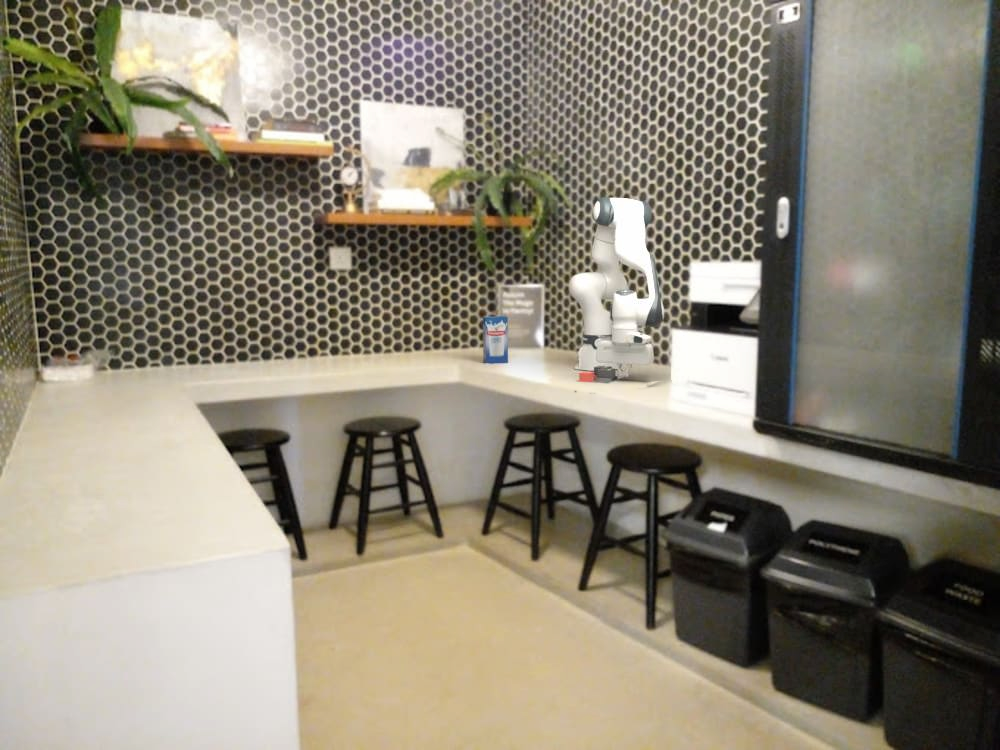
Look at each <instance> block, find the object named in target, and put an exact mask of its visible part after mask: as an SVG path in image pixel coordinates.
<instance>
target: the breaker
mask: <svg viewBox="0 0 1000 750" xmlns="http://www.w3.org/2000/svg"><path fill="white" fill-rule="evenodd" d="M615 374H616V369H613V368H611V369H610V368H601V369H598V370H597V378H612V380H613V379H615Z"/></svg>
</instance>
